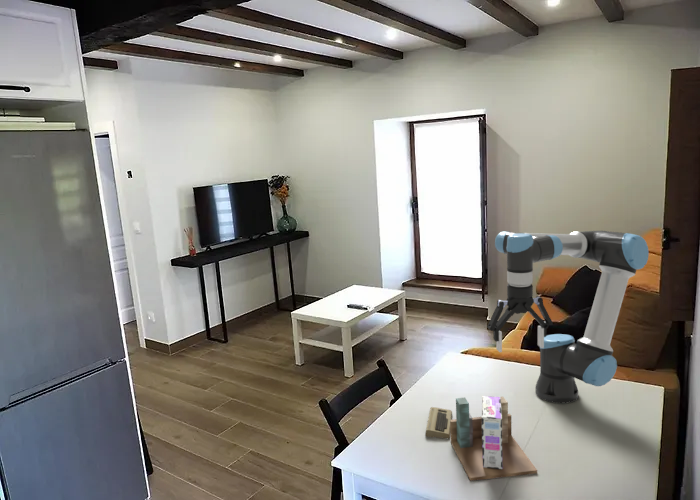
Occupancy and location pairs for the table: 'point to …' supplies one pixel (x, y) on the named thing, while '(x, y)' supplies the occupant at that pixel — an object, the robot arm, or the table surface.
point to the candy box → (492, 432)
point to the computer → (438, 423)
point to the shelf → (470, 445)
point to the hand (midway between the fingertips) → (519, 348)
